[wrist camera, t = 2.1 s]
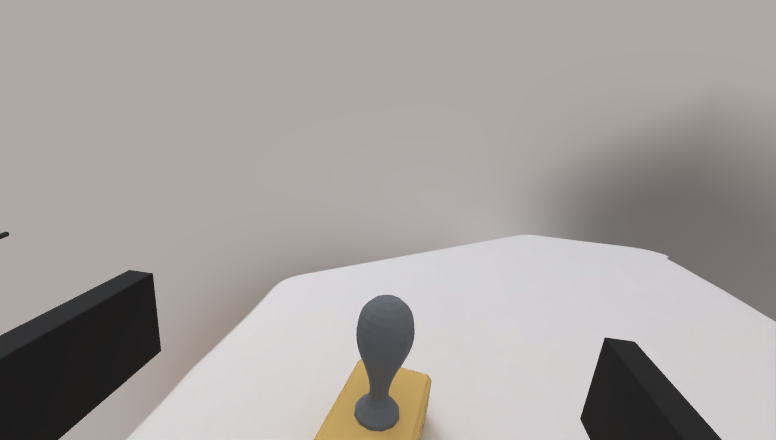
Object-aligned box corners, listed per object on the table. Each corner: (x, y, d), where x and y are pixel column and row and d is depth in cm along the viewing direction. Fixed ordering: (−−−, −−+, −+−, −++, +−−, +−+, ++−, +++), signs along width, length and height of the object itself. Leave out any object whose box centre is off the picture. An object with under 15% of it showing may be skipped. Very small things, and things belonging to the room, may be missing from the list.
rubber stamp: (393, 553, 19) (421, 364, 16) (295, 514, 21) (300, 332, 17) (426, 412, 28) (448, 273, 25) (357, 392, 30) (368, 257, 26)
